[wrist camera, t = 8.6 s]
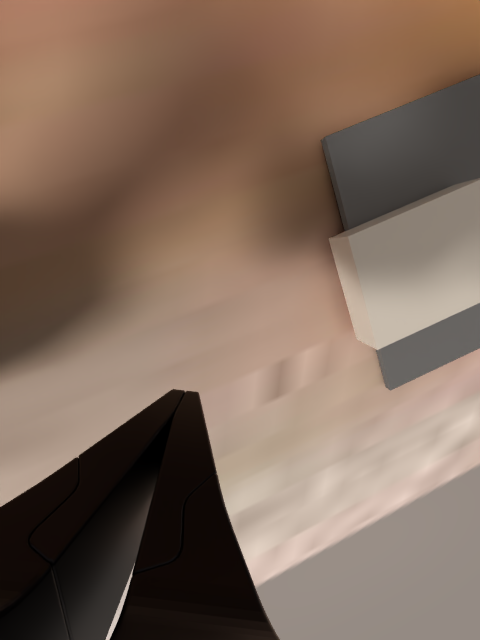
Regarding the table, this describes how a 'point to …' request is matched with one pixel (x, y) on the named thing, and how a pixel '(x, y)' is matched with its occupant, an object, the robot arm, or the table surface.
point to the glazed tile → (412, 265)
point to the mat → (411, 198)
